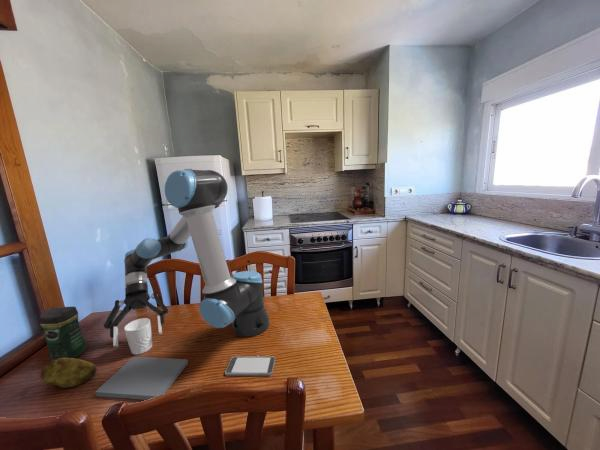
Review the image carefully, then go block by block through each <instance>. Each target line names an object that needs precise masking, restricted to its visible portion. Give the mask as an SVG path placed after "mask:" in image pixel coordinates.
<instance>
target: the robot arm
mask: <svg viewBox="0 0 600 450" xmlns="http://www.w3.org/2000/svg"><path fill="white" fill-rule="evenodd" d="M228 189H229V187H228V182H227V179H225V177H224V176H223V175H222V174H220V172H217V171H215V170H212V169H205V170H204V169H189V168H187V169H179V170H178V169H177V170H174V171H172V172H171V173H170V174H169V175H168V176H167V178H166V181H165V184H164V196H165V198H166V201H167V203H168V204H170V206H171V207H174V208H176V209H177V210H178V214H179V215H181V216H182V217H181V218H180V219H179V221H178V222H177V223H176V224H175V226H174V228H172V230H171V231H170V232H169V234H168V235H167V236H165V237H162V238H157V239H156V238H152V237H147V238H144V239H143V240H142V241H140V243H138V244H137V245H136V248H135V249H132V250H129V251H127V252H126V253H125V255H124V287H125V288H124V291H125V293H124V295H125V297H124V299H123V300H119V299H116V300H115V301H114V307H112V310H111V312H110V313H109V315H108V316H107V318H106V321H105V322H104V324H103V327H104V329H106V330H108V329H109V337H110V339H113V341H112V342H113V344H112V345H113V347H114V348H119V328H118V325H119V324H120V323H121V322H122V321H123V320H124V318H125V317H126V315H128V313H130V312H131V310H133V311H134V310H137V309H143V307H146V308H148V309H150V310H151V311H152V312H154V313H155V314H157V327H158V333H159V335H162V334H163V329H162V325H164V324H165V317H164V316H165V315H166V314H169V309H168V307H167V306H166V305H165V303H164V302H163V301H162V300H161V299H160V298H159V295H158V292H157V291H154V292H152V293H150V294H149V285H148V268H147V266H148V265H149V264H150V263H151V262H152V261H154V260H156V259H159V258H162V257H164V256H166V255H167V256H168V255H171V254H173V253H177V252H180V251H182V250H184V249H186V248H187V246H188V243H189V239H190V237H191V240H192V243H193V248H194V250H195V254H196V257H197V260H198V265H199V268H200V271H201V274H202V277H203V281H204V284H205V285H204V287H203V289H202V292H201V293H202V294H203V300H201V301H200V303H199V307H198V309H199V314H200V316H201V317H202V319H203V320H204V322H206V324H208V325H210V326H211V327H213V328H216V329H222V328H225V327H227V326H228V325H230V324H232V325H231V326H232V331H233V334H235V335H237V336H239V337H244V338H245V337H246V338H247V337H248V338H249V337H254V336H257V335H260V334H262V333H264V332H265V331H266V330H267V329H268V328H269V326H270V323H271V322H270V315H269V314H268V312H267V310H266V308H265V302H264V288H263V278H262V274H261V273H259V272H257V271H252V270H244V271H238V272H235V273H233V274H232V275H231V274H230V270H229V266H228V264H227V260H226V256H225V252H224V248H223V246H222V243H221V242H222V241H221V239H220V238H221V237H220V234H219V231H218V227H217V223H216V219H215V216H214V213H213V211H214V209H218V208H219V207H220V205H221V204H222V203H223V202H224V200H225V198H226V197H227V195H228V191H229V190H228ZM151 298H152V300H155V302H156V303H157V304H158V306H159V307H160V308H161V309H160V308H158V307H156V306H155V305H154V304H152V303H151V302H150V301H149V300H150V299H151ZM123 305H125V306H124V307H123V309H122V310H121V311H120V308H121V307H122V306H123ZM119 311H120V313H119V314H118V312H119Z"/></svg>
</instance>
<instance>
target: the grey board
mask: <svg viewBox="0 0 600 450" xmlns="http://www.w3.org/2000/svg"><path fill="white" fill-rule="evenodd" d="M188 364H189V363H188V359H187V358H186V359H184V358H183V359H182V358H168V357H167V358H166V357H164V358H163V357H146V356H132V358H130V359H129V360H128V361H127V362H126V363H125V364H124V365H123V366H122V367H121V368H119V369H117V371H116V372H115V373H114V374H113V375H112V376H111V377H110V378H108V380H107V381H105V382H104V383H103V384H102V385H101V386H100V387H99V388H97V390H95V392H94V393H95V396H96V397H99V398H101V397H102V398H111V399H112V398H115V399H126V398H130V400H139V401H140V400H143V401H148V400H147V399H150V398H153V397H156V396H159V395H163V394H164V395H166V393H167V392H168V390H170V388H171V386H172V385H173V384H174V382H176V380H177V378H178V377H179V376H180V375H181V374H182V372H183V371H184V369H185V368H186V367H187V365H188Z"/></svg>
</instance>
